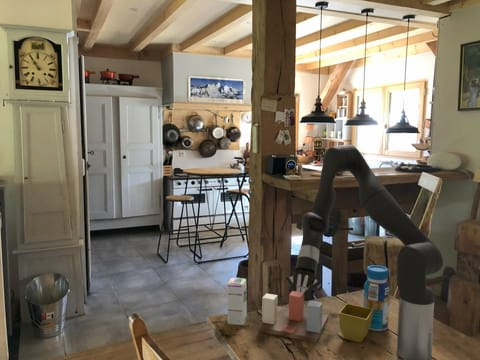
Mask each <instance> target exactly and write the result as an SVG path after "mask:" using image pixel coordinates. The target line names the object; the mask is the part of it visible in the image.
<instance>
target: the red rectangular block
mask: <svg viewBox="0 0 480 360" xmlns="http://www.w3.org/2000/svg"><path fill="white" fill-rule="evenodd" d="M304 303H305V299H304V293H303V292H296V291H292V290H291V292H290V293H289V294H288V308H289V319H290V320H295V321H301V320H302V318H303V311H304V308H305V307H304Z"/></svg>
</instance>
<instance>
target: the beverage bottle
mask: <svg viewBox="0 0 480 360" xmlns="http://www.w3.org/2000/svg"><path fill="white" fill-rule="evenodd" d="M366 278H367V279H366V280H365V282H364V283H363V289H364V290H363V292H362V307H366V308H370V309H373V315H372V321H371V325H370V328H369V331H375V332H376V331H377V332H380V331H381V332H382V331H383V332H384V331H386V330H387V329H388V328H389V313H390V299H391V297H390V288H391V287H390V285H389V283H388V282H387V281H388V278H389V269H388V267H386V266H382V265H379V264H378V265H375V264H374V265H368V266H367V267H366Z"/></svg>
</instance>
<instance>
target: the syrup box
mask: <svg viewBox="0 0 480 360" xmlns="http://www.w3.org/2000/svg"><path fill="white" fill-rule="evenodd" d="M247 297H248V295H247V278H244V277H230V279H229V280H228V282H227V283H226V307H227V308H226V310H227V313H226V314H227V317H226V318H227V324H228V325H233V326H234V325H235V326H244V325H245V323H246V321H247V319H248V307H247V306H248V300H247Z"/></svg>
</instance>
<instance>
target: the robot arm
mask: <svg viewBox="0 0 480 360" xmlns="http://www.w3.org/2000/svg"><path fill="white" fill-rule="evenodd" d="M345 172H349V173H350V174H351V175H352V176H353V177H354V178H355V180H356V181H357V183H358V196H359V202H360V205H361V207H362V208H363V209H364V211H365V212H366V214H367V215H368V217H369V218H370V219H371V220H372V221H373V222H374V223H376V224H377V225H378V226H380V227H381V228H382V229H384V230H385V231H387V232H388V233H390V234H392V235H393V236H394V237H396V238H397V239H398V240H399V241H400V242H401V243H402V244H403V245H404V246H402V247H400V249H399V250H398V253H397V258H396V286H397V288H398V294H399V298H398V315H397V316H398V319H397V320H398V321H397V336H396V354H397V356H398V357H399V358H401V360H432V355H433V338H434V327H433V325H434V314H435V313H434V311H435V310H434V309H435V296H436V295H435V292H434V289H432V288H431V287H429V286H427V283H426V282H427V281H426V277H427V276H430V275H434V274H436V273H438V272H439V271H441V270H442V268H443V264H444V259H443V255H442V253H441V251H440V249H439V248H438V247H437V245H435V243H434V242H433V241H432V240H431V239H430V238H429V237H428V236H427V235H426V234H425V233H424V232H423V231H422V230H421V229H420V228H419V227H418V226H417V225H416V224H415V223H414V222H413V220H412V219H411V218H410V216H408V214H407V213H406V212H405V211H404V210H403V208H402V207H401V206H400V204H398V202H397V200H396V199H395V198H394V196H393V195H392V194H391V193H390V192H389V191H388V189H387V188H386V187H385V186H384V185H383V184H382V182H381V180H379V178H378V177H377V176H376V175H375V173H374V172H373V170H372V169H371V167H370V166H369V164H368V163H367V161H366V159H365V158H364V156H363V155H362V153H361V152H360V150H359V149H358V148H357V147H356V146H354V145H353V144H342V145H341V144H340V145H335V146H330V147H329V148H328V149H326V151H325V154H324V157H323V161H322V167H321V173H320V179H319V184H318V188H317V193H316V196H315V198H314V201H313V203H312V206H311V210H312V212H306V213H304V214H303V216H302V219H301V228H302V240H301V246H300V248H299V252H298V255H297V260H296V264H295V269H294V272H293V273H292V276H286V277H285V279H286V282H287V284H288V287H289V288H290V290H291V292H292V291H296V292H303V293H304V300H305V298H306V297H307V296H308V297H310V296H311V295H313V294H314V293H315V292H316V291H318V290H319V289H320V288H321V286H322V284H321V282H320V281H319V280H317V275H316V274H317V269H318V264H319V261H320V260H319V259H320V251H321V246H322V238H321V237H320V236H319V235H324V234H326V233H327V232H328V230H329V228H330V213H331V211H332V208H333V206H334V204H335V201H336V196H337V195H336V190H335V187H334V180H335V178H336V177H337V175H338V173H345ZM318 234H319V235H318ZM294 282H295V284H296V287H295V286H294V284H293V283H294Z"/></svg>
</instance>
